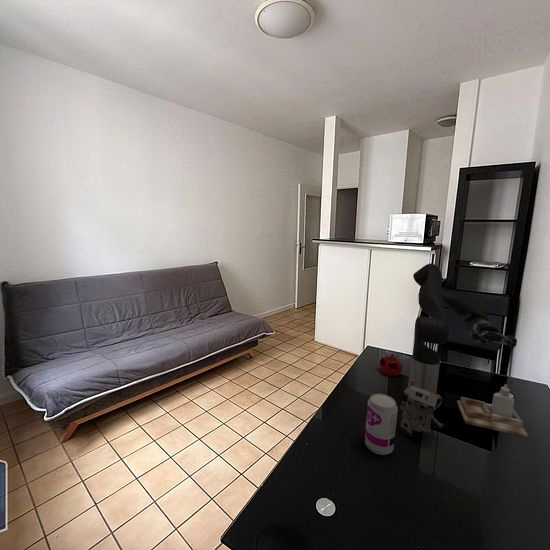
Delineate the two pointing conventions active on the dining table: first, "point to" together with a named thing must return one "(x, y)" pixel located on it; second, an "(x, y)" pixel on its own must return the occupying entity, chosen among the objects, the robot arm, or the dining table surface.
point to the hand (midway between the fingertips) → (498, 343)
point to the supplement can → (381, 424)
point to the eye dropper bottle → (503, 403)
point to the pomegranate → (390, 365)
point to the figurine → (419, 410)
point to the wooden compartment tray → (489, 417)
